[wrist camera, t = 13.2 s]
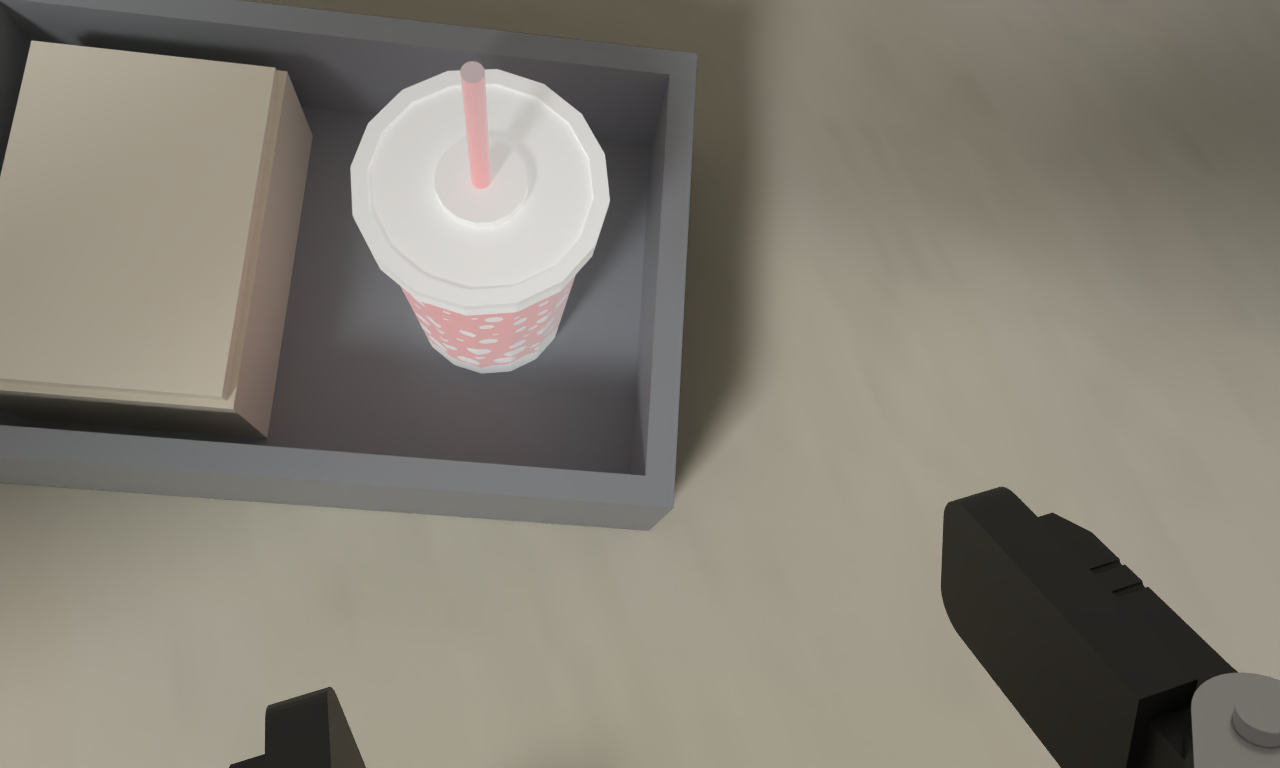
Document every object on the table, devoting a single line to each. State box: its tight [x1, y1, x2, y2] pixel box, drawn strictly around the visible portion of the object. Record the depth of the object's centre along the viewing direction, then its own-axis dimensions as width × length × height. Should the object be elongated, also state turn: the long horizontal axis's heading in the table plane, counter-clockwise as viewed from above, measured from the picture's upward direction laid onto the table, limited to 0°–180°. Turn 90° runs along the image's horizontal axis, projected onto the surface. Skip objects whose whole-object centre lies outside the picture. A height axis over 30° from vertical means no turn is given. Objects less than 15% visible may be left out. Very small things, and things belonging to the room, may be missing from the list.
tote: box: [0, 0, 697, 531], centre depth 32 cm, size 21×14×6 cm, turn 87°
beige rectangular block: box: [0, 41, 313, 438], centre depth 31 cm, size 7×10×4 cm
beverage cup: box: [350, 61, 610, 373], centre depth 27 cm, size 6×6×14 cm
